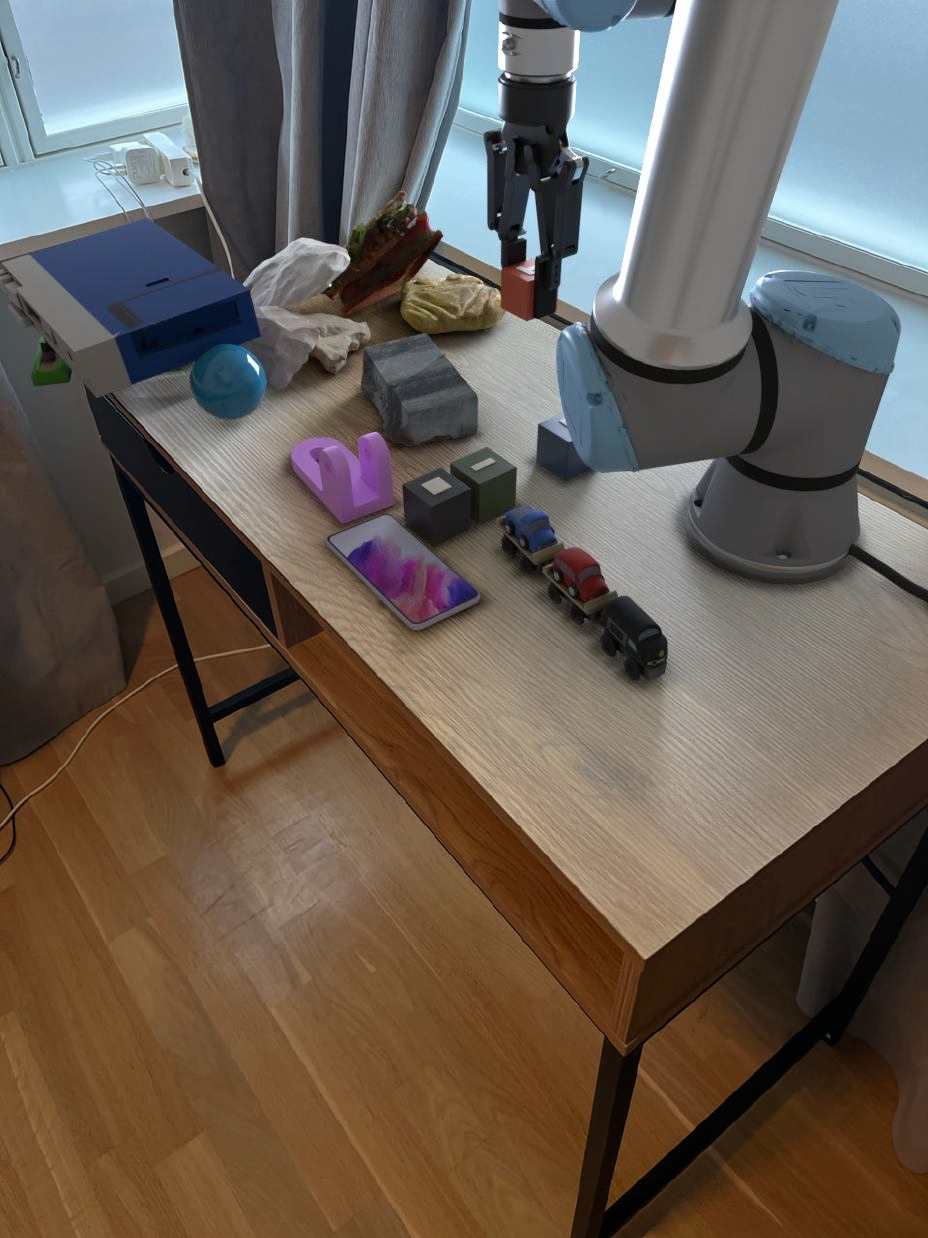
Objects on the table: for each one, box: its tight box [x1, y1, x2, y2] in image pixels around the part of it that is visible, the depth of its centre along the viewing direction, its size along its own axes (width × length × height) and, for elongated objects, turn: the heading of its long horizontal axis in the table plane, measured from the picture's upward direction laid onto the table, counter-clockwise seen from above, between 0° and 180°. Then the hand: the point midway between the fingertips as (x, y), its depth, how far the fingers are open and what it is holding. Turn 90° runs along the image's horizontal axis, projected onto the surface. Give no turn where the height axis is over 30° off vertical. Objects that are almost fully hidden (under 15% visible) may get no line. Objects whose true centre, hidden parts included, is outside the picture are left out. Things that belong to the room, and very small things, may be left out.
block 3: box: [535, 411, 592, 482], centre depth 97 cm, size 4×4×5 cm
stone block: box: [360, 332, 479, 447], centre depth 104 cm, size 9×14×5 cm, turn 24°
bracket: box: [290, 431, 395, 525], centre depth 94 cm, size 13×6×7 cm, turn 33°
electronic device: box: [0, 217, 261, 399], centre depth 108 cm, size 20×5×30 cm
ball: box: [189, 344, 268, 421], centre depth 103 cm, size 8×8×8 cm
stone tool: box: [239, 306, 320, 390], centre depth 111 cm, size 9×5×15 cm
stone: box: [286, 308, 371, 375], centre depth 115 cm, size 13×4×10 cm
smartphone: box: [325, 512, 481, 632], centre depth 85 cm, size 7×1×15 cm
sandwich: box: [319, 190, 444, 317], centre depth 122 cm, size 16×12×8 cm
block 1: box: [401, 466, 472, 547], centre depth 89 cm, size 4×4×5 cm
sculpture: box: [400, 272, 507, 335], centre depth 122 cm, size 13×4×15 cm
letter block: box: [500, 258, 559, 322], centre depth 106 cm, size 4×4×5 cm
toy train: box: [495, 504, 669, 682], centre depth 81 cm, size 4×22×5 cm, turn 31°
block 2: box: [449, 446, 518, 524], centre depth 92 cm, size 4×4×5 cm
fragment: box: [242, 237, 350, 309], centre depth 119 cm, size 15×20×5 cm
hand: (528, 306), depth 108 cm, fingers closed on letter block, 4 cm apart
